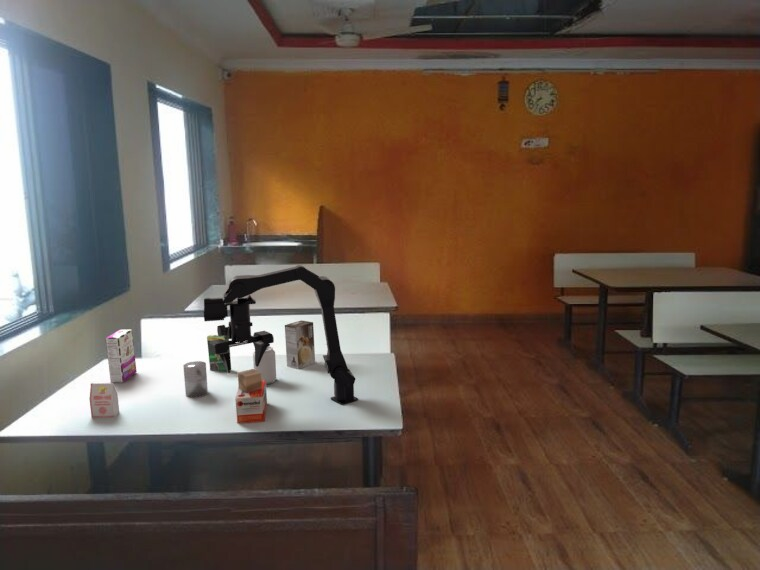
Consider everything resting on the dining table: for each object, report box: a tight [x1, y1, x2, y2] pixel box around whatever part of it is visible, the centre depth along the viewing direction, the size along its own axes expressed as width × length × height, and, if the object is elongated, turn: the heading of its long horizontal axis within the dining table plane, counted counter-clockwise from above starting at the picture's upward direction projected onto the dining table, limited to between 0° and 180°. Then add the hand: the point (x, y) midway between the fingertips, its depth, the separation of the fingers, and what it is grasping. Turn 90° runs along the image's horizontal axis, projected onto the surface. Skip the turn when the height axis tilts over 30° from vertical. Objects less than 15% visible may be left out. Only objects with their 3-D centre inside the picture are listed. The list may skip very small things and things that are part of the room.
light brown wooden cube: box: [237, 368, 262, 393], centre depth 178 cm, size 5×5×5 cm
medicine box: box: [234, 380, 268, 424], centre depth 180 cm, size 15×8×8 cm, turn 8°
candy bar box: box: [105, 328, 137, 384], centre depth 213 cm, size 11×5×16 cm, turn 179°
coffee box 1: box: [206, 334, 232, 373], centre depth 220 cm, size 8×3×13 cm, turn 70°
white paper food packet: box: [89, 382, 120, 418], centre depth 180 cm, size 4×7×10 cm, turn 90°
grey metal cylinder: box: [182, 360, 209, 399], centre depth 196 cm, size 7×7×10 cm
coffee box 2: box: [284, 319, 316, 370], centre depth 224 cm, size 9×6×16 cm
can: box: [252, 345, 277, 385], centre depth 207 cm, size 8×8×12 cm
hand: (243, 369), depth 180 cm, fingers open, 9 cm apart
